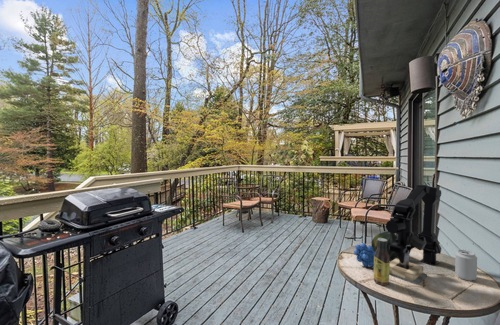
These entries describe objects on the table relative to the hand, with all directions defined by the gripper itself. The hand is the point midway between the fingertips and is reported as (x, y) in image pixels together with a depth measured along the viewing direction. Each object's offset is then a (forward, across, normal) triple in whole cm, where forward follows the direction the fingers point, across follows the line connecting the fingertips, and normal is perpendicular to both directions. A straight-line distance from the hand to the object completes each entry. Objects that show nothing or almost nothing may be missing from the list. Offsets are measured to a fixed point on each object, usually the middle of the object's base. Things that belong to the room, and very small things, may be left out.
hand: (404, 261), depth 118 cm
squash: (+6, +16, +15) cm, 23 cm away
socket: (+6, 0, 0) cm, 6 cm away
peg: (+4, 0, 0) cm, 4 cm away
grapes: (+6, -7, +15) cm, 18 cm away
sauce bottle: (+6, -16, +3) cm, 17 cm away
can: (+6, +18, -19) cm, 27 cm away
